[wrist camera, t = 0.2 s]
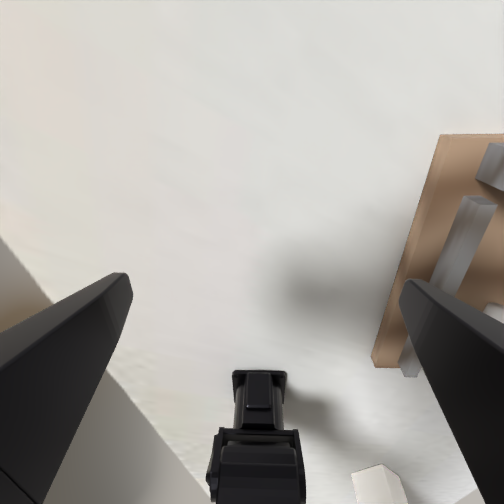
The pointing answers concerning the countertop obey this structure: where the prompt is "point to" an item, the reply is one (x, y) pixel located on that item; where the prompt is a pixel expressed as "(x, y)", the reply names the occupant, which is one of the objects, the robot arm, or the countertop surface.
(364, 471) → the milk
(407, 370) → the gauge base
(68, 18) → the countertop surface
